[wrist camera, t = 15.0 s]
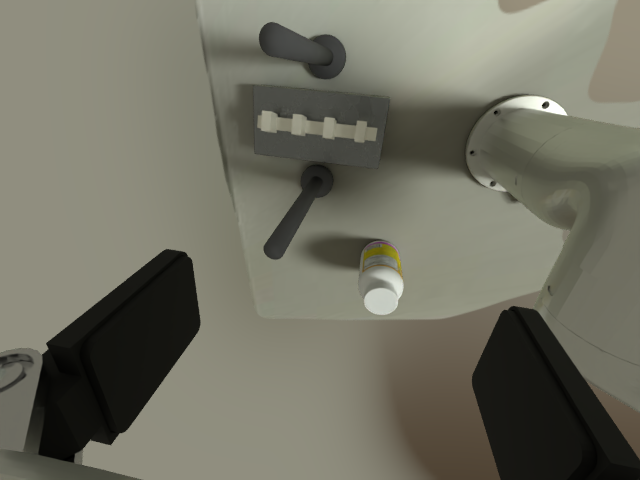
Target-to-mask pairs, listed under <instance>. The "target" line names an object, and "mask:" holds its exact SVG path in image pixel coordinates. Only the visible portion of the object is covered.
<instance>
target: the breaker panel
mask: <svg viewBox="0 0 640 480" xmlns="http://www.w3.org/2000/svg"><path fill="white" fill-rule="evenodd" d="M253 101H254V150H255V154H260V155H268V156H276V157H284V158H293V159H301V160H309V161H317V162H325V163H333V164H342V165H350V166H358V167H366V168H374V169H378V167H379V161H380V155H381V149H382V143H383V138H384V132H385V126H386V120H387V114H388V108H389V102H390V97H385V96H375V95H364V94H354V93H344V92H333V91H323V90H312V89H302V88H291V87H281V86H271V85H253ZM262 110H263V111H271V112H274V113H276V114H278V117H280V118H289V119H293V114H300V115H304V116H305V117H307V120H308V121H317V122H324V118H325V117H329V118H335V119H336V120H337V122H336V124H345V125H354V126H356V125H357V121H366V122H367V127H372V128H377V134H376V141H368V140H365V142H364V143H359V142H355V141H354V139H350V138H341V137H335V139H334V140H332V139H325V138H322V137H323V135H314V134H306V133H305V136H297V135H293V134H291V132H288V131H279V130H277V133H271V132H265V131H261V128H257V123H258V115H261V116H262Z"/></svg>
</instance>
